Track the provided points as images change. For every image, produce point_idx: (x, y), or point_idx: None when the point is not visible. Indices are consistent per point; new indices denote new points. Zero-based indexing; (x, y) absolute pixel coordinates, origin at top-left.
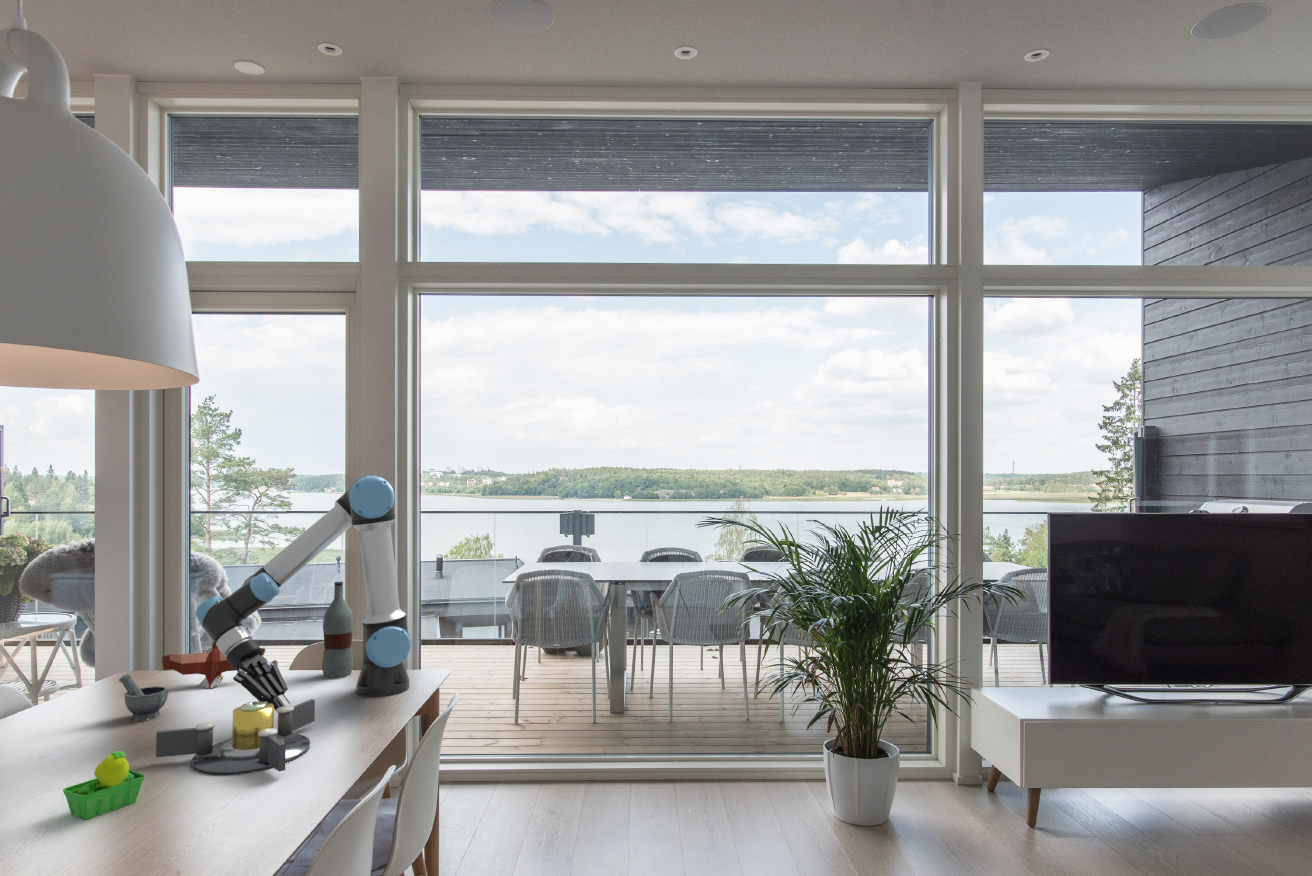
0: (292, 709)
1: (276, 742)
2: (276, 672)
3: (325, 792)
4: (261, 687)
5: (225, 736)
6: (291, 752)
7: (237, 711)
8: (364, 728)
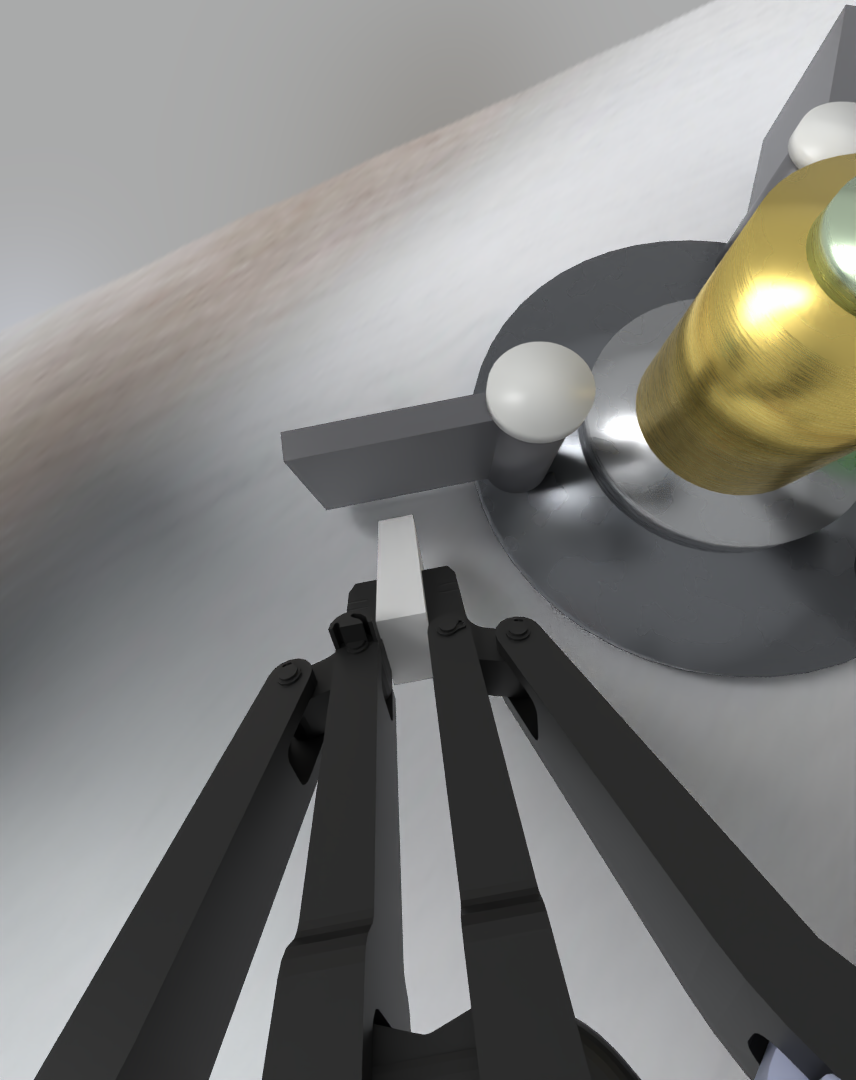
0: (520, 349)
1: None
2: (183, 932)
3: (733, 19)
4: (557, 709)
5: None
6: (630, 275)
7: None
8: (267, 308)
